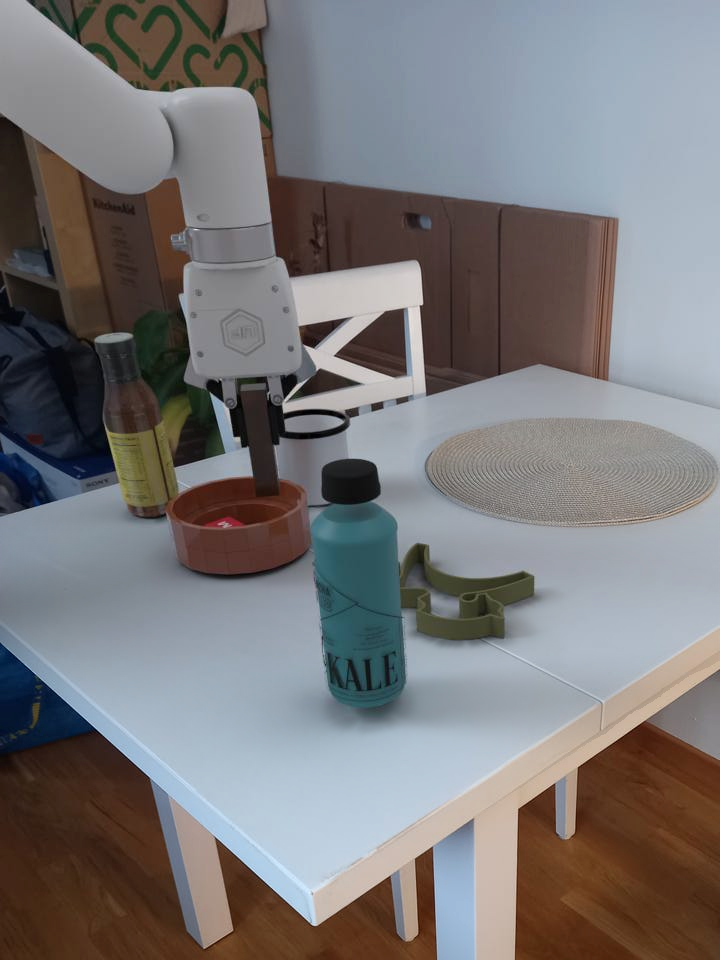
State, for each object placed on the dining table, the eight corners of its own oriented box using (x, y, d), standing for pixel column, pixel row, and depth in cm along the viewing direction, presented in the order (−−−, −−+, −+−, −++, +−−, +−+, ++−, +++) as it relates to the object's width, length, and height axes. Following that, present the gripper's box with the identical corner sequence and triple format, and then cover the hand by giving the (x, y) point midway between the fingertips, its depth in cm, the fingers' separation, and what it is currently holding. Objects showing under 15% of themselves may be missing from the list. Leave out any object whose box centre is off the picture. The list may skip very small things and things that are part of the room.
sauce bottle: (159, 495, 112) (124, 325, 101) (193, 506, 109) (161, 333, 98) (113, 513, 107) (72, 337, 97) (147, 525, 104) (108, 345, 94)
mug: (371, 488, 113) (366, 415, 108) (322, 515, 106) (314, 438, 101) (296, 470, 118) (288, 400, 114) (244, 495, 111) (233, 422, 107)
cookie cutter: (552, 597, 89) (553, 579, 88) (484, 653, 80) (484, 633, 79) (404, 553, 97) (403, 536, 96) (328, 599, 89) (326, 581, 88)
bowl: (168, 585, 92) (158, 534, 89) (182, 527, 104) (174, 481, 101) (313, 572, 94) (307, 523, 91) (310, 517, 106) (305, 471, 103)
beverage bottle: (376, 670, 78) (357, 441, 68) (426, 702, 74) (415, 464, 63) (311, 701, 74) (281, 463, 64) (361, 737, 70) (337, 489, 60)
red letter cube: (208, 551, 97) (203, 524, 95) (233, 542, 99) (229, 516, 97) (223, 560, 95) (219, 533, 93) (249, 550, 97) (244, 524, 95)
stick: (256, 497, 95) (240, 391, 89) (256, 489, 97) (241, 384, 91) (279, 496, 95) (265, 389, 89) (280, 487, 97) (265, 382, 91)
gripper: (134, 256, 79) (175, 461, 89) (323, 248, 81) (343, 448, 91) (145, 243, 86) (182, 436, 95) (320, 236, 88) (339, 424, 97)
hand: (260, 440), depth 93 cm, fingers closed on stick, 2 cm apart
